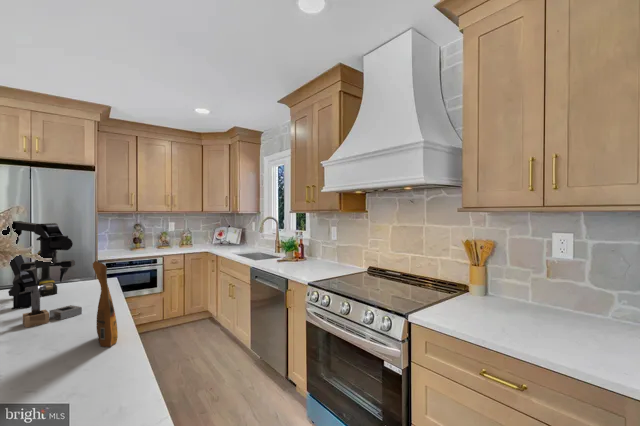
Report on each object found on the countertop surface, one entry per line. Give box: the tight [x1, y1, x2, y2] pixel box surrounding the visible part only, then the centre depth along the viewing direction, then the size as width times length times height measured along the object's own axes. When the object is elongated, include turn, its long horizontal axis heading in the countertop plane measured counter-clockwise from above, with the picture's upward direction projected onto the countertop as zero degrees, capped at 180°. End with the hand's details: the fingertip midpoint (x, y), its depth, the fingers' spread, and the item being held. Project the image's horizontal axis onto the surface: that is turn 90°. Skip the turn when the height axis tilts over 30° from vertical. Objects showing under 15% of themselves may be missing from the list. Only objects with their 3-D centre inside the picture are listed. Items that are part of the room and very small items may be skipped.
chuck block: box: [48, 304, 83, 321], centre depth 132 cm, size 8×8×3 cm
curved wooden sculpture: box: [92, 260, 119, 348], centre depth 107 cm, size 7×19×28 cm, turn 39°
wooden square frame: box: [22, 309, 50, 328], centre depth 123 cm, size 7×7×4 cm
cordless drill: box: [36, 250, 58, 297], centre depth 165 cm, size 8×21×25 cm, turn 53°
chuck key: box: [25, 285, 46, 316], centre depth 123 cm, size 6×3×15 cm, turn 139°
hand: (48, 282), depth 142 cm, fingers open, 9 cm apart
